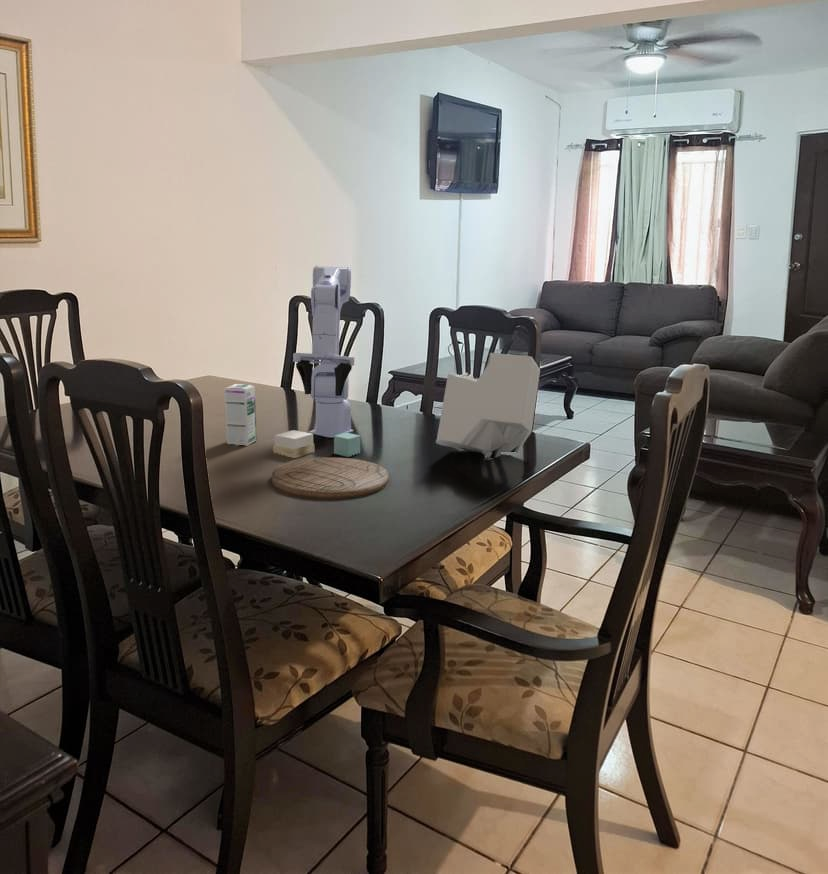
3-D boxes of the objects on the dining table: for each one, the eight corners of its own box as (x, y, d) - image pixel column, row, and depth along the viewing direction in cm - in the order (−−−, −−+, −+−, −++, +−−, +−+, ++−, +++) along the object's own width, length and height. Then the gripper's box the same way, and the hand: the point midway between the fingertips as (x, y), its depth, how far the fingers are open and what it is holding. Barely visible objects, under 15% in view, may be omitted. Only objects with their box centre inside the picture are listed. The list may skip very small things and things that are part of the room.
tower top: (293, 439, 193) (293, 430, 192) (313, 443, 189) (313, 433, 189) (274, 445, 188) (274, 434, 187) (294, 449, 184) (294, 439, 184)
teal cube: (345, 450, 193) (346, 432, 192) (360, 453, 191) (360, 435, 190) (334, 453, 190) (334, 435, 189) (348, 457, 187) (348, 439, 186)
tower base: (293, 449, 194) (293, 439, 193) (314, 454, 190) (314, 444, 190) (273, 454, 188) (273, 444, 188) (294, 460, 185) (294, 449, 184)
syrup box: (247, 446, 193) (246, 388, 189) (225, 444, 194) (224, 386, 191) (257, 440, 198) (256, 384, 195) (235, 439, 200) (233, 382, 196)
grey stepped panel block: (430, 453, 183) (445, 348, 185) (446, 459, 198) (460, 362, 200) (516, 464, 177) (531, 356, 179) (526, 469, 192) (540, 370, 194)
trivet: (319, 459, 186) (319, 451, 185) (409, 478, 173) (410, 470, 173) (247, 485, 165) (246, 476, 164) (343, 508, 152) (343, 499, 152)
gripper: (301, 331, 175) (300, 392, 174) (360, 337, 182) (359, 395, 182) (290, 335, 181) (289, 393, 181) (347, 340, 188) (346, 396, 188)
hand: (323, 395), depth 182 cm, fingers open, 7 cm apart
